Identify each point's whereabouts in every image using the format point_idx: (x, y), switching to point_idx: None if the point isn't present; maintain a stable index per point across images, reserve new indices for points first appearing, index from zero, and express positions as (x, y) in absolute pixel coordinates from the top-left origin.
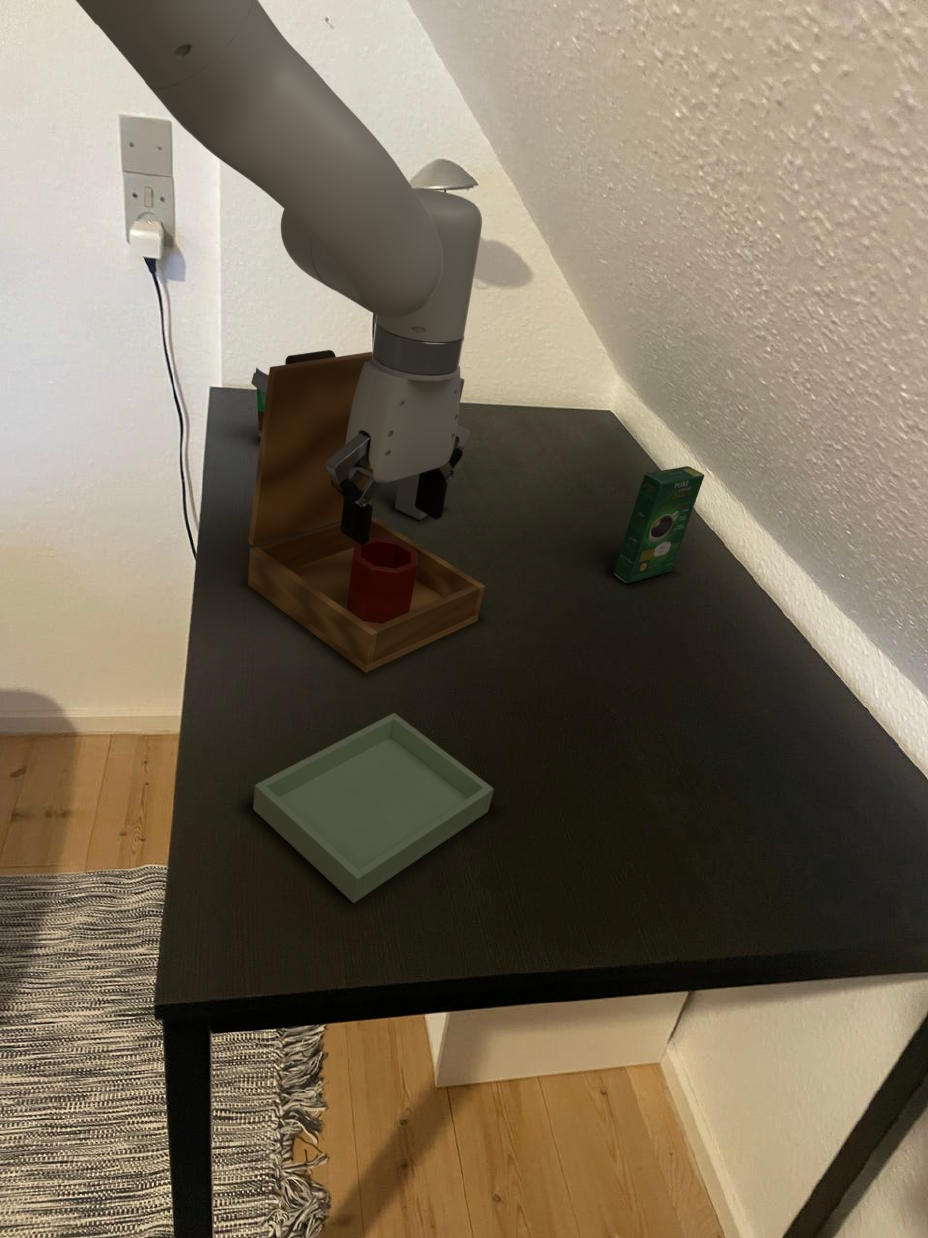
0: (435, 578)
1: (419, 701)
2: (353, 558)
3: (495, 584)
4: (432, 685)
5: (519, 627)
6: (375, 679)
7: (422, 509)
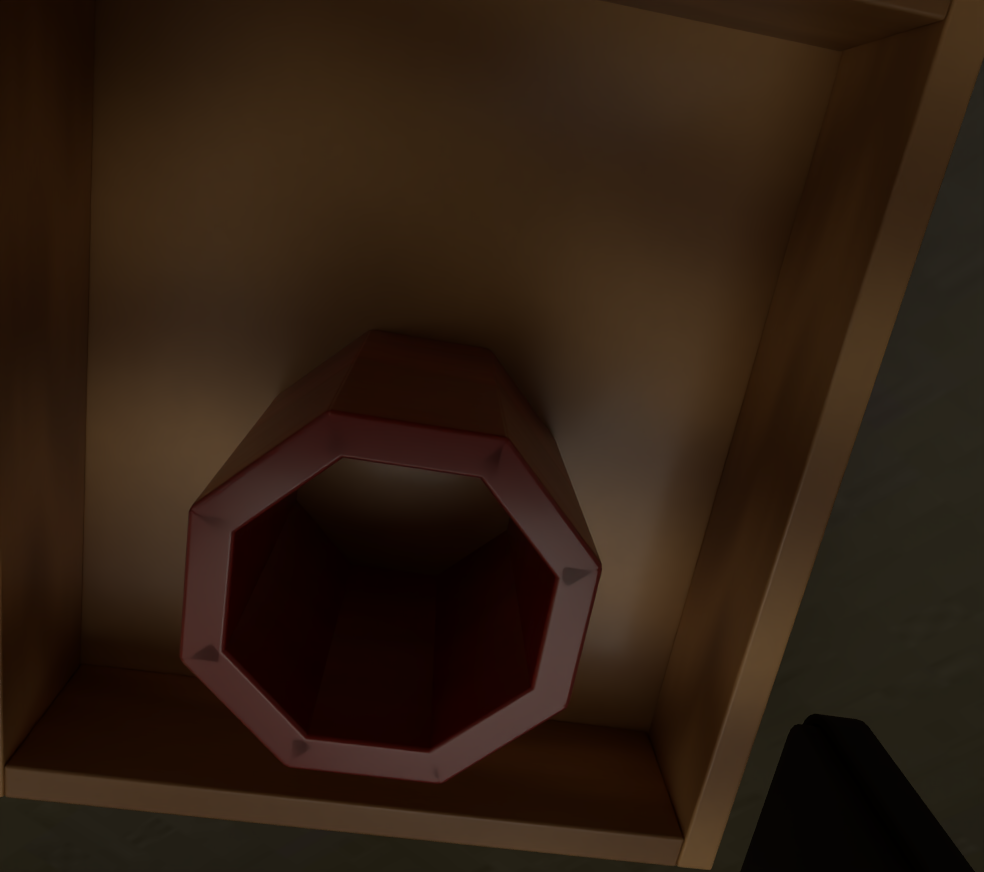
0: (716, 588)
1: (107, 850)
2: (189, 511)
3: (964, 649)
4: (209, 833)
5: (737, 842)
6: None
7: (773, 805)
